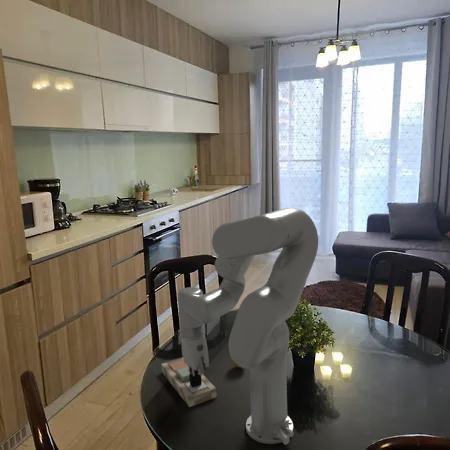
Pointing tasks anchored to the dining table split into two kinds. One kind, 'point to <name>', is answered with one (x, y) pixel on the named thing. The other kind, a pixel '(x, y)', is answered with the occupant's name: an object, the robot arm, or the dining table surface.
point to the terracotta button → (177, 365)
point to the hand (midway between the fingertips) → (195, 385)
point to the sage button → (183, 374)
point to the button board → (183, 390)
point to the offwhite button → (196, 387)
